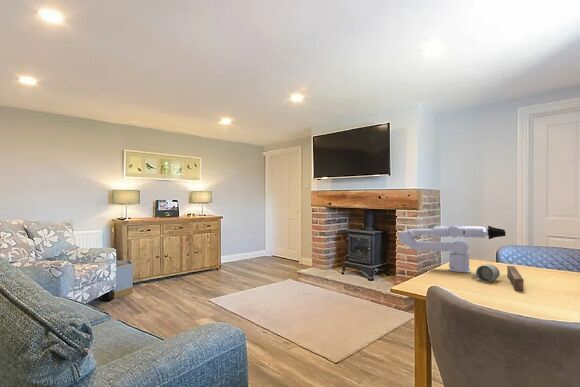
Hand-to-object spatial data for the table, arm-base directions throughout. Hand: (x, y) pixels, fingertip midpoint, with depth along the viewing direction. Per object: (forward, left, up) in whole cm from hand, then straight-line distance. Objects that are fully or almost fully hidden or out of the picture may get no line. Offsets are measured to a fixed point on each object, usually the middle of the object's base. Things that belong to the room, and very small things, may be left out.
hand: (505, 232), depth 161 cm
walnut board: (+2, -14, -21) cm, 25 cm away
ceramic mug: (-9, -14, -21) cm, 27 cm away
